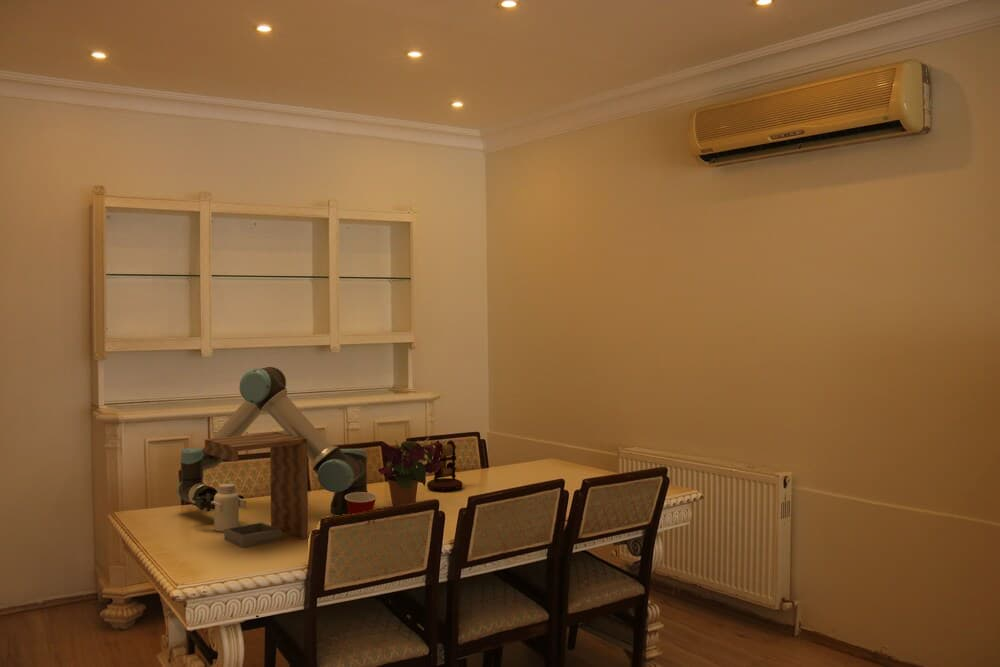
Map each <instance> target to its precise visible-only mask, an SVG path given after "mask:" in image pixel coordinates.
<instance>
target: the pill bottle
mask: <svg viewBox="0 0 1000 667" xmlns="http://www.w3.org/2000/svg"><path fill="white" fill-rule="evenodd" d="M217 486H218V487H217V488H218V490H217V492H218V493H217V494H216V495H215V496H214V502H217V503H220V504H221V505H222V512H220V513H219V512H216V511H214V510H213V528H214V531H217V532H224V529H227V528H233V527H238V526H240V525H239V524H240V523H239V521H240V519H239V518H240V517H239V516H240V513H239V511H240V510H239V508H240V507H239V497H238V495H239V494H238V493H237V492H235V489H236V486H235V484H234V483H221V484H219V485H217Z"/></svg>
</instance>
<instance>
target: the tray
mask: <svg viewBox="0 0 1000 667" xmlns="http://www.w3.org/2000/svg"><path fill="white" fill-rule="evenodd" d="M223 533H224V535H223V536H224V541H226V542H228V543H231V544H233V545H236V546H238V547H240V548H243V549H244V548H248V547H253V546H254V547H255V546H260V545H264V544H269V543H274V542H280V541H281V540H282V539H281V538H282V532H281V529H278V528H276V527H273V526H271V524H267V523H264V522H262V521H261V522H256V523H250V524H245V525H239V526H238V527H233V528H227V529H224V531H223Z"/></svg>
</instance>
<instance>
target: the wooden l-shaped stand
mask: <svg viewBox="0 0 1000 667" xmlns="http://www.w3.org/2000/svg"><path fill="white" fill-rule="evenodd" d="M204 447H205V454H209V455H212V456H216V457H220V458H223V460H227V461H231V462H234V463H235V462H239V452H241V451H242V452H243V451H252V450H259V449H260V450H261V449H267V448H268V449H270V451H269V453H270V455H269V456H270V457H269V459H270V465H269V466H270V526H273V527H276V528H278V529H281V533H283V534H284V533H285V534H286V535H290V536H292V537H295V538H297V539H300V540H306V539H309V528H308V527H309V520H308V519H309V518H308V517H309V513H308V512H309V511H308V510H309V508H308V506H309V504H308V503H309V501H308V500H309V499H308V498H309V497H308V483H309V482H308V479H309V478H308V457H307V438H302V437H297V436H292V435H288V434H287V433H281V432H277V431H275V432H274V431H273V432H264V433H253V434H246V435H244V434H242V435H241V436H233V437H224V438H214V439H212V438H205V439H204Z"/></svg>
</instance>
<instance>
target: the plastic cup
mask: <svg viewBox="0 0 1000 667" xmlns="http://www.w3.org/2000/svg"><path fill="white" fill-rule="evenodd" d="M377 499H378V495H376V494H375V493H371V492H368V493H367V492H356V493H350V494H347V495H346V496H345V500H346V502H347V506H348V511H349V514H352V513H358V512H363V511H369V510H373V511H374V507H375V502H376V500H377Z"/></svg>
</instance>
